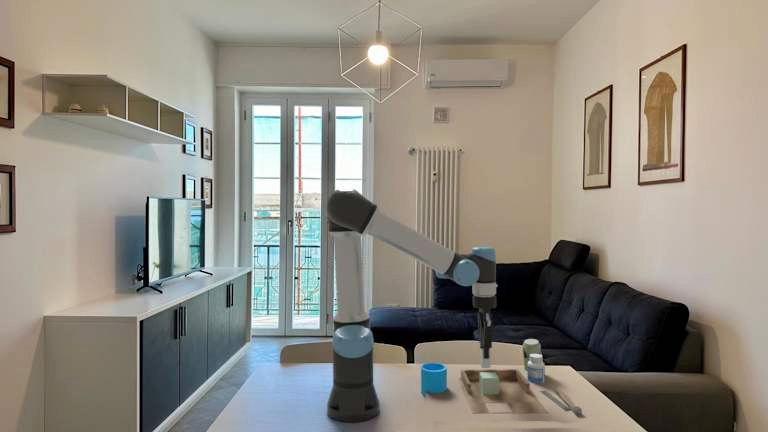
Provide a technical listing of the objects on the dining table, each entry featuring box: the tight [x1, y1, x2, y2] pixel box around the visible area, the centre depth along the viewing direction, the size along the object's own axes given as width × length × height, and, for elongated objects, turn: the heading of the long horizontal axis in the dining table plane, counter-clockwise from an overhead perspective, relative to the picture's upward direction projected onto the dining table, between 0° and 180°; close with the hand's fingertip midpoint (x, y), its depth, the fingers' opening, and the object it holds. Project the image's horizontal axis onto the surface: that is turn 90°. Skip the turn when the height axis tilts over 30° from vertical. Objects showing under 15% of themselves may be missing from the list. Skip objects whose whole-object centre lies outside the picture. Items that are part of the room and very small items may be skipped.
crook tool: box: [539, 390, 583, 416], centre depth 139 cm, size 5×14×2 cm, turn 10°
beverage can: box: [522, 338, 542, 372], centre depth 165 cm, size 6×7×12 cm
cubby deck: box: [457, 368, 549, 414], centre depth 144 cm, size 21×26×4 cm
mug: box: [420, 362, 448, 397], centre depth 151 cm, size 12×8×8 cm
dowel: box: [556, 390, 576, 407], centre depth 141 cm, size 2×12×2 cm, turn 179°
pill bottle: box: [527, 354, 546, 384], centre depth 155 cm, size 6×5×10 cm
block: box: [479, 372, 499, 394], centre depth 146 cm, size 5×5×5 cm
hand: (485, 367), depth 153 cm, fingers closed
